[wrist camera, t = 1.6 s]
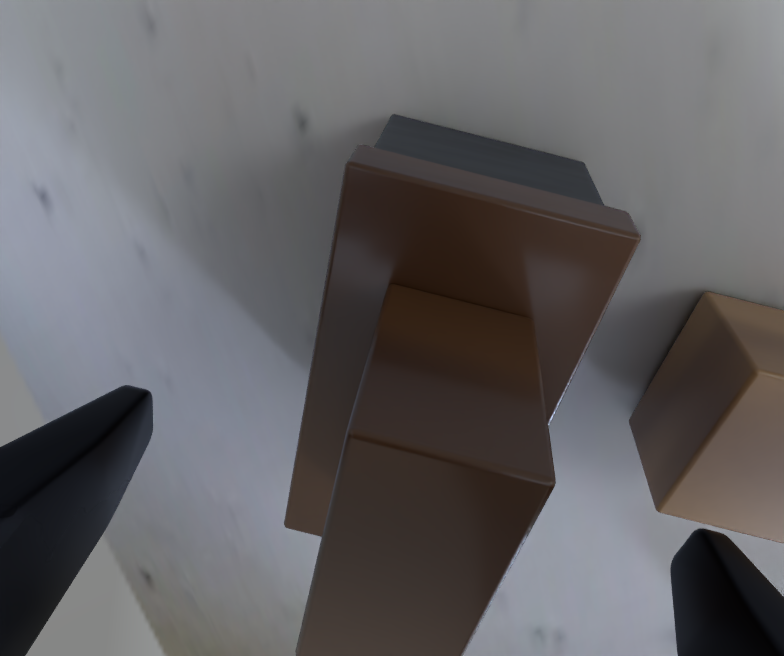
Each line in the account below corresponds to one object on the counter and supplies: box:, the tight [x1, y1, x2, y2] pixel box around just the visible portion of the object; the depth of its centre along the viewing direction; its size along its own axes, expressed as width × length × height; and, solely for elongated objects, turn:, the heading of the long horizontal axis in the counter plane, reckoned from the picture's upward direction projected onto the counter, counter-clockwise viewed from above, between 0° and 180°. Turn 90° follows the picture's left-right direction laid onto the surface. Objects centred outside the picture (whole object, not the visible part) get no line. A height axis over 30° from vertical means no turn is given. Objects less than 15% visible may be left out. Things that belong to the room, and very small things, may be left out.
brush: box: [284, 114, 641, 656], centre depth 11 cm, size 8×4×8 cm, turn 168°
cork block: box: [629, 292, 784, 543], centre depth 13 cm, size 4×4×3 cm
